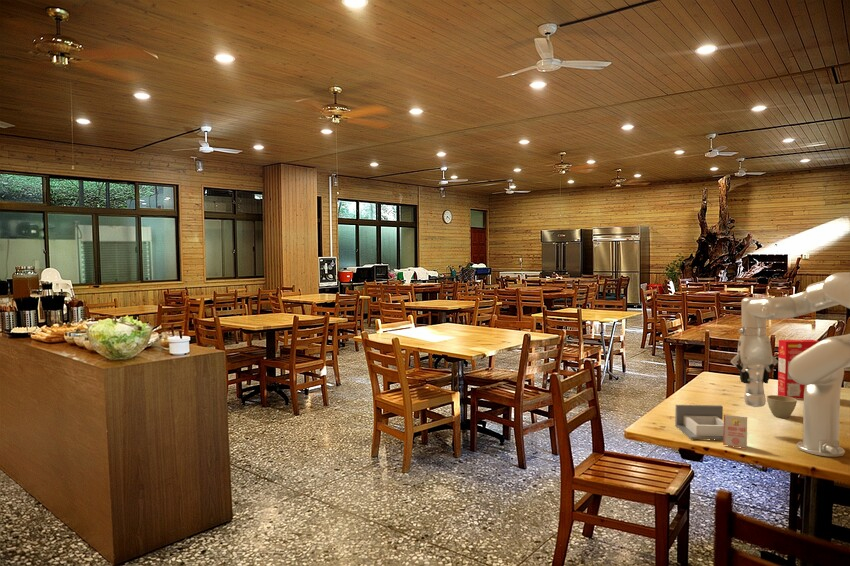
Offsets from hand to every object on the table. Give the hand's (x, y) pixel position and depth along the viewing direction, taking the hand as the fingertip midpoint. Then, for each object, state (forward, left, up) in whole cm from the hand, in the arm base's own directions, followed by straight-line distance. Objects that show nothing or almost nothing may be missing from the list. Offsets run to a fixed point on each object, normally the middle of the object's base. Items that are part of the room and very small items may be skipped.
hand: (754, 382), depth 203 cm
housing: (-3, +17, -18) cm, 25 cm away
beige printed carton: (-16, +13, -18) cm, 28 cm away
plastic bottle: (0, 0, -9) cm, 9 cm away
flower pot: (+21, -20, -18) cm, 34 cm away
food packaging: (+53, -43, -18) cm, 70 cm away
